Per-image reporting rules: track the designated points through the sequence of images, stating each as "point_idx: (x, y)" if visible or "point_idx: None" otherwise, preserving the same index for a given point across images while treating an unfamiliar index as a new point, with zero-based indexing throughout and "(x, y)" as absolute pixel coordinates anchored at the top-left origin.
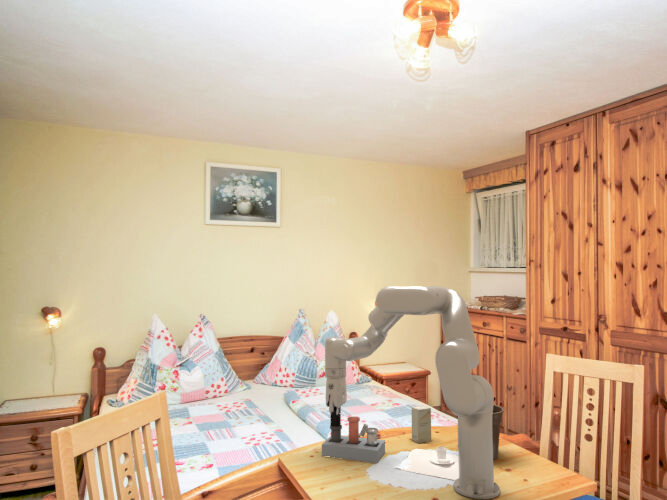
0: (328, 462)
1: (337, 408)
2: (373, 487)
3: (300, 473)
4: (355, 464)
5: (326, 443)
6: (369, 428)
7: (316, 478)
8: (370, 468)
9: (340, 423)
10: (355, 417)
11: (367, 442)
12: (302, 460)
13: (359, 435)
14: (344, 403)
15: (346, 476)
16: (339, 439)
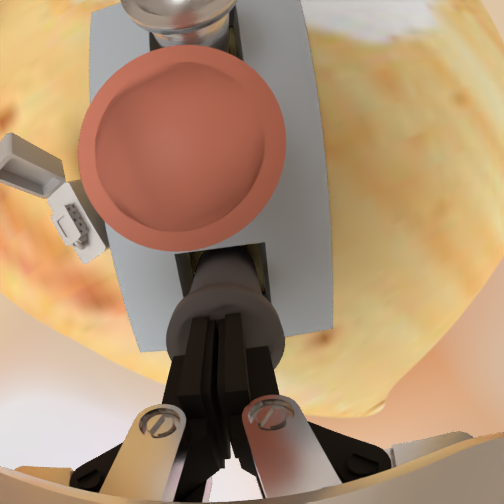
0: (372, 233)
1: (328, 479)
2: (470, 20)
3: (476, 276)
4: (345, 99)
5: (311, 313)
6: (160, 3)
7: (494, 207)
8: (355, 29)
9: (193, 323)
10: (121, 137)
11: (217, 45)
12: (380, 340)
13: (69, 185)
14: (67, 495)
15: (458, 109)
16: (237, 263)
